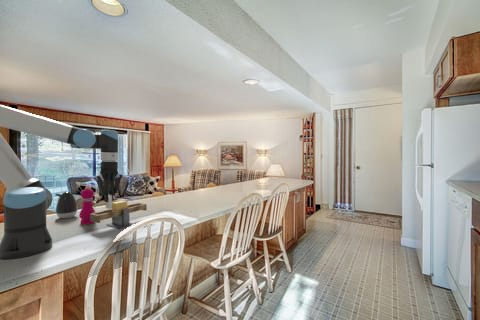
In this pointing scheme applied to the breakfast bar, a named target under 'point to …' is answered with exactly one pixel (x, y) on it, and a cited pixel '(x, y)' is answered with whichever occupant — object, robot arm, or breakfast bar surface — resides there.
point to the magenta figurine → (86, 206)
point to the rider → (119, 205)
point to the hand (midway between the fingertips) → (108, 208)
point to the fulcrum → (121, 220)
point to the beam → (115, 212)
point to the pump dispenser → (66, 205)
